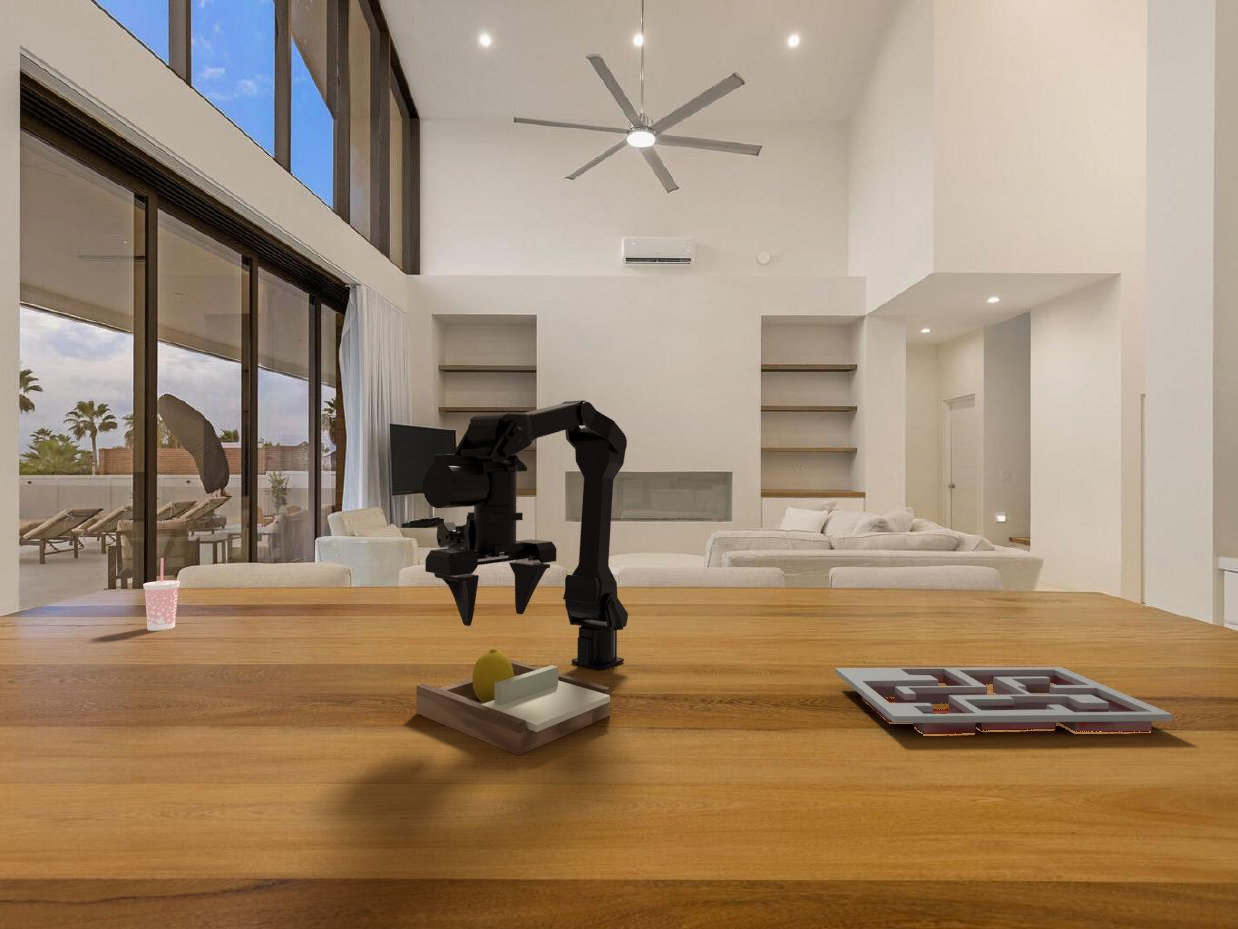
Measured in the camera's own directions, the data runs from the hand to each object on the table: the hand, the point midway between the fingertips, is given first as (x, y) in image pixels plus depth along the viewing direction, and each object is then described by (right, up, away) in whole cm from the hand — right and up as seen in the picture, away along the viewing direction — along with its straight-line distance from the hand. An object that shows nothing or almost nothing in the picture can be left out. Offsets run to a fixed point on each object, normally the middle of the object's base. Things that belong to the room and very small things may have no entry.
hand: (494, 619), depth 91 cm
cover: (+8, -9, -7) cm, 14 cm away
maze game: (+68, -13, 0) cm, 69 cm away
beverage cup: (-75, -12, +43) cm, 87 cm away
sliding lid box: (+3, -12, -3) cm, 13 cm away
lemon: (0, -12, 0) cm, 12 cm away
